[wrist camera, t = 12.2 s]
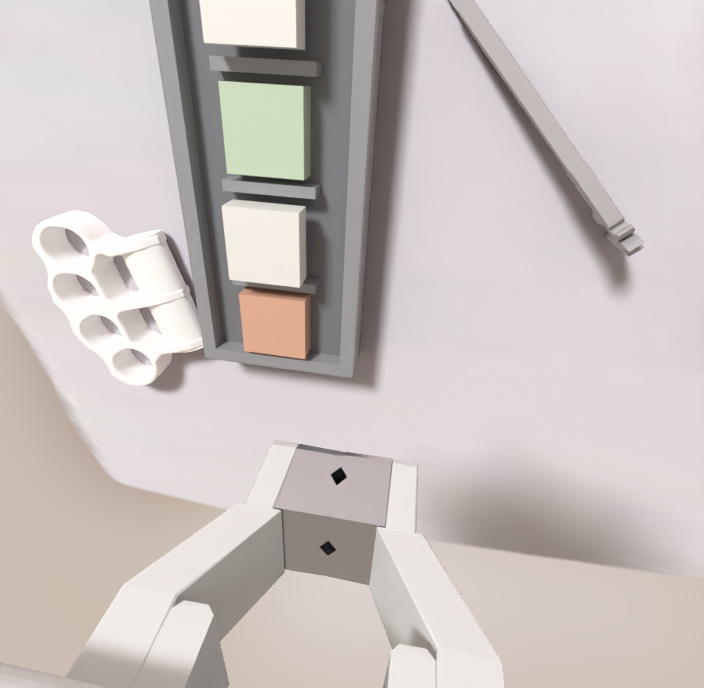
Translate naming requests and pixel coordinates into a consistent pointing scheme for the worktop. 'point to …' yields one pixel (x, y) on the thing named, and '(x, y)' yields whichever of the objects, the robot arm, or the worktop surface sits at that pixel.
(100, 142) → the worktop surface
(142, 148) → the worktop surface
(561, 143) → the caliper
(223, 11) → the key cream end
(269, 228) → the off-white square tile
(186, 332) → the knuckle duster
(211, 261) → the grey divided tray
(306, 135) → the key sage
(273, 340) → the block
